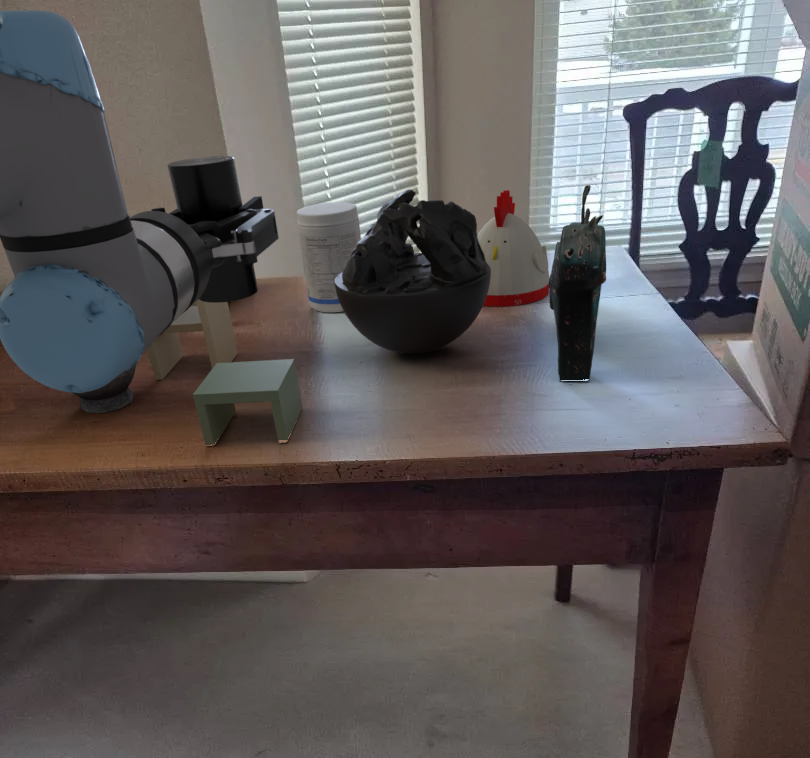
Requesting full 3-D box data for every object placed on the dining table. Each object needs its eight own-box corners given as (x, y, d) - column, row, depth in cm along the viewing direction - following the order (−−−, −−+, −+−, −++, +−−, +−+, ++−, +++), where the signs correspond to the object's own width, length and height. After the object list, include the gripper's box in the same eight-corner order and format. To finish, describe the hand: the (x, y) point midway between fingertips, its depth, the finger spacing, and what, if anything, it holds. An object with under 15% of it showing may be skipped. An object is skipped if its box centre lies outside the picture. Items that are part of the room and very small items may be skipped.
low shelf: (205, 446, 78) (192, 394, 75) (227, 412, 86) (216, 363, 82) (287, 443, 77) (277, 390, 74) (302, 408, 85) (294, 358, 82)
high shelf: (155, 380, 96) (124, 271, 89) (176, 356, 104) (150, 253, 96) (221, 376, 96) (195, 266, 88) (238, 352, 103) (216, 249, 95)
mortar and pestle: (70, 426, 86) (34, 325, 79) (62, 400, 93) (28, 306, 86) (166, 402, 90) (138, 304, 83) (151, 379, 97) (124, 287, 90)
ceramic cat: (598, 388, 83) (612, 197, 72) (540, 387, 85) (545, 200, 73) (601, 331, 99) (613, 167, 88) (552, 331, 100) (558, 170, 89)
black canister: (190, 304, 71) (158, 168, 65) (207, 287, 76) (179, 158, 69) (250, 301, 71) (223, 163, 64) (263, 283, 76) (240, 154, 69)
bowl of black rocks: (459, 384, 87) (453, 215, 77) (316, 369, 95) (293, 214, 85) (511, 330, 102) (512, 182, 92) (383, 321, 110) (371, 184, 99)
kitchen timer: (449, 304, 114) (445, 200, 106) (477, 280, 125) (475, 184, 116) (537, 308, 109) (539, 199, 101) (558, 282, 120) (561, 182, 111)
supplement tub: (317, 297, 124) (304, 203, 115) (372, 295, 122) (363, 200, 114) (302, 315, 116) (287, 215, 107) (361, 313, 114) (350, 212, 106)
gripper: (45, 328, 58) (147, 257, 77) (279, 315, 56) (325, 246, 75) (9, 228, 54) (127, 179, 73) (261, 210, 52) (314, 165, 71)
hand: (227, 213), depth 74 cm, fingers closed on black canister, 6 cm apart
